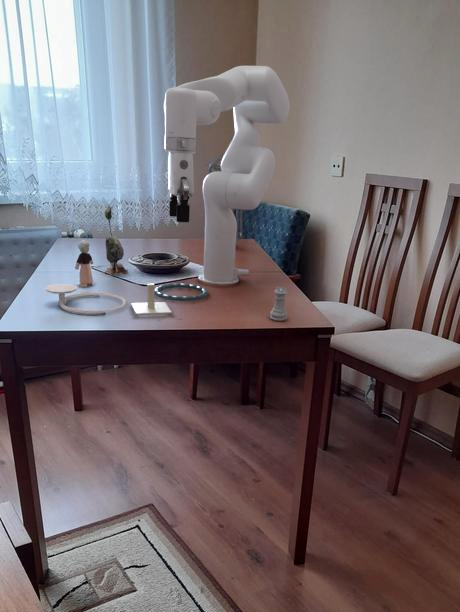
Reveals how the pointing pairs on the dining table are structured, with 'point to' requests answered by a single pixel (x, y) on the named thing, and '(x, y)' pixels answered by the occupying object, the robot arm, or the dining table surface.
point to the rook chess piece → (279, 305)
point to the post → (151, 304)
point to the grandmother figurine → (84, 264)
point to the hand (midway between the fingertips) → (178, 219)
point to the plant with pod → (114, 251)
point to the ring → (203, 290)
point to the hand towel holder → (70, 288)
